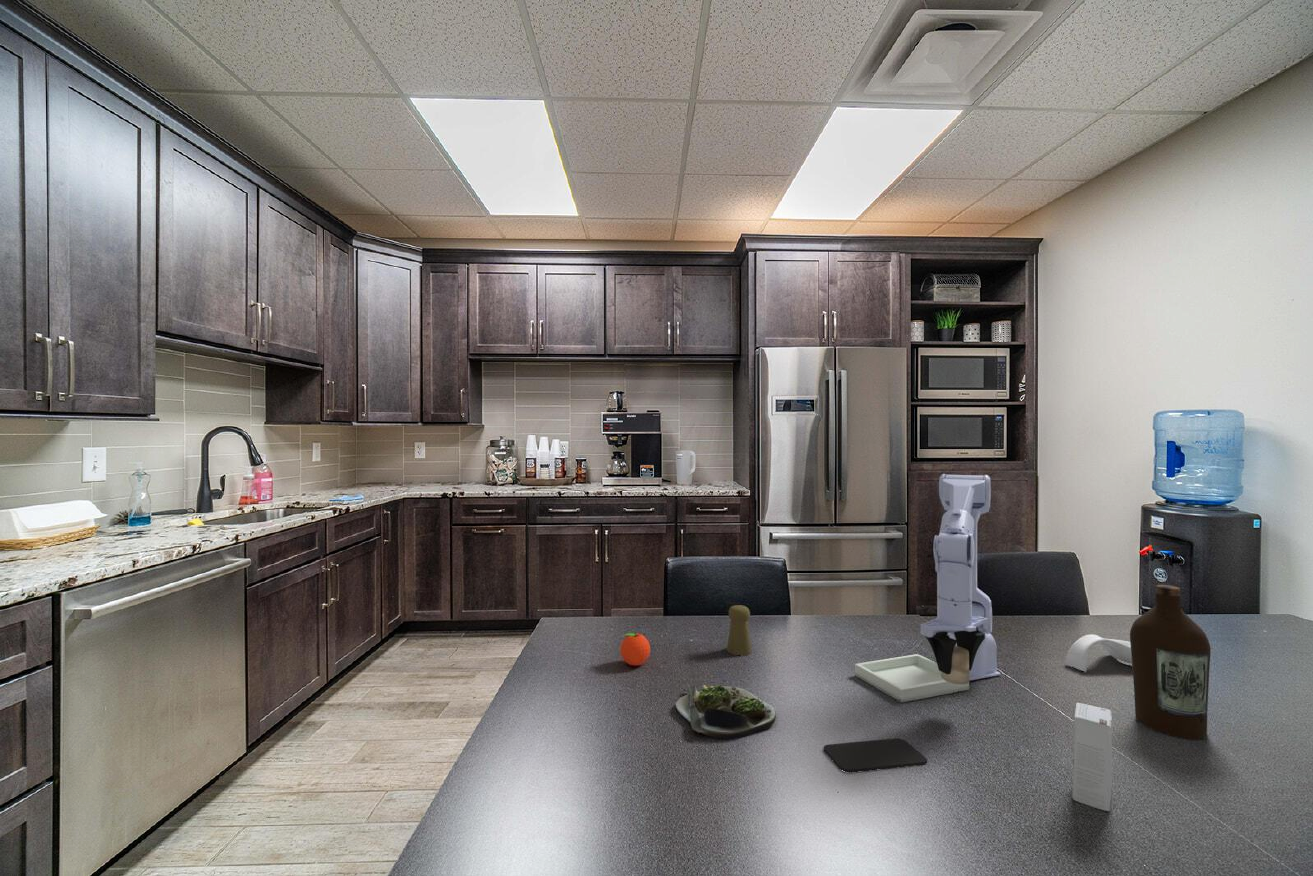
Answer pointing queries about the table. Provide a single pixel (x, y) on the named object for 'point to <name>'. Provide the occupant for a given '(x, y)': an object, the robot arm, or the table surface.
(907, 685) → the tray
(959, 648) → the beige rounded cylinder
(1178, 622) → the brown liquor bottle
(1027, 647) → the table surface
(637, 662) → the clementine
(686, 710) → the salad plate
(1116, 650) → the white curved arch piece
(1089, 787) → the skincare box
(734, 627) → the cork
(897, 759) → the phone
